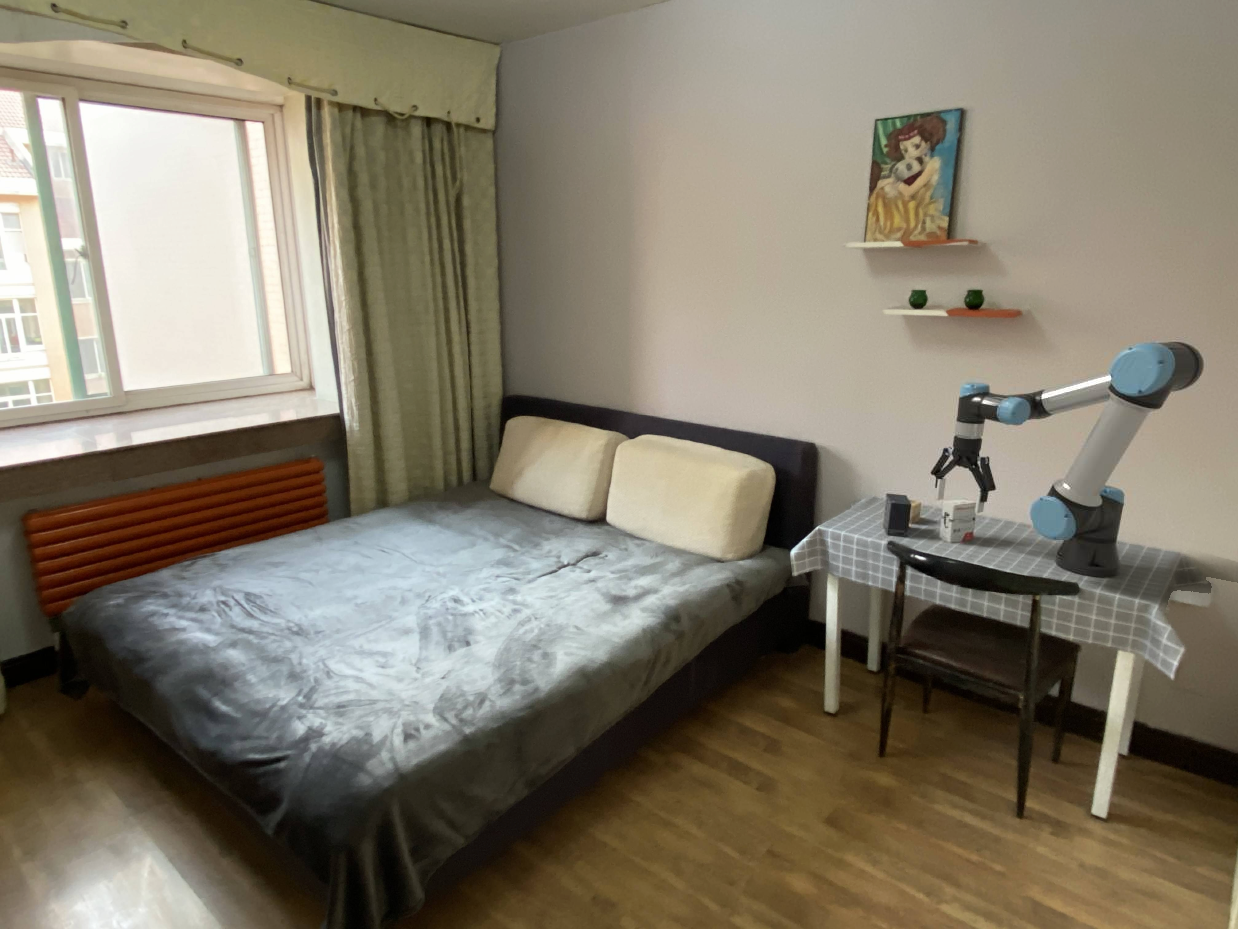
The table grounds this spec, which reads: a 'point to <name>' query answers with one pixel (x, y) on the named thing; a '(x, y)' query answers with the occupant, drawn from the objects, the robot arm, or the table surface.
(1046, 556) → the table surface
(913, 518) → the oak cube
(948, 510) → the ink box
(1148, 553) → the table surface
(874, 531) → the table surface
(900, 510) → the small box
